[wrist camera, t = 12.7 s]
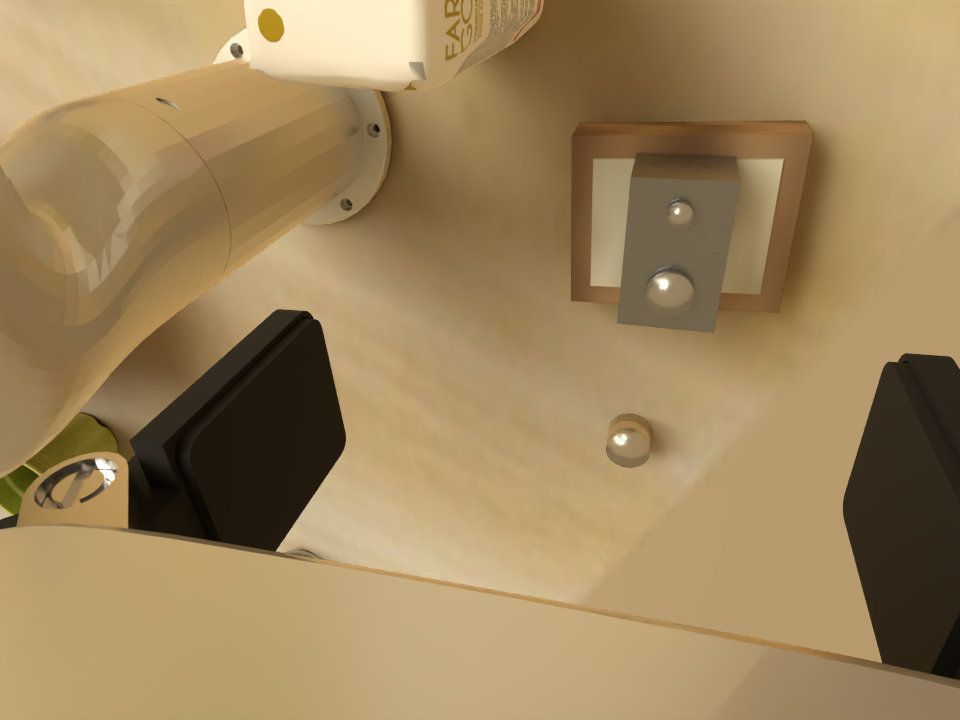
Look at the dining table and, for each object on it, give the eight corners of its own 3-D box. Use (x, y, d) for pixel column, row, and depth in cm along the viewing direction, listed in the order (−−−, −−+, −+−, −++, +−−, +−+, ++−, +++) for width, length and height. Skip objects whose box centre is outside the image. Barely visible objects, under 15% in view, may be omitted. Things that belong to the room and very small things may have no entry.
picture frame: (577, 280, 43) (570, 302, 40) (579, 123, 38) (571, 136, 35) (773, 290, 40) (779, 314, 37) (804, 120, 35) (814, 135, 32)
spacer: (608, 443, 50) (605, 464, 48) (610, 411, 48) (607, 431, 46) (649, 448, 49) (647, 470, 47) (652, 416, 47) (651, 437, 45)
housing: (636, 152, 35) (629, 180, 31) (735, 156, 34) (742, 186, 30) (623, 288, 39) (616, 328, 35) (711, 295, 38) (714, 338, 34)
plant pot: (113, 401, 62) (39, 460, 55) (147, 476, 67) (84, 538, 60) (36, 393, 65) (-43, 449, 58) (75, 466, 70) (6, 524, 63)
